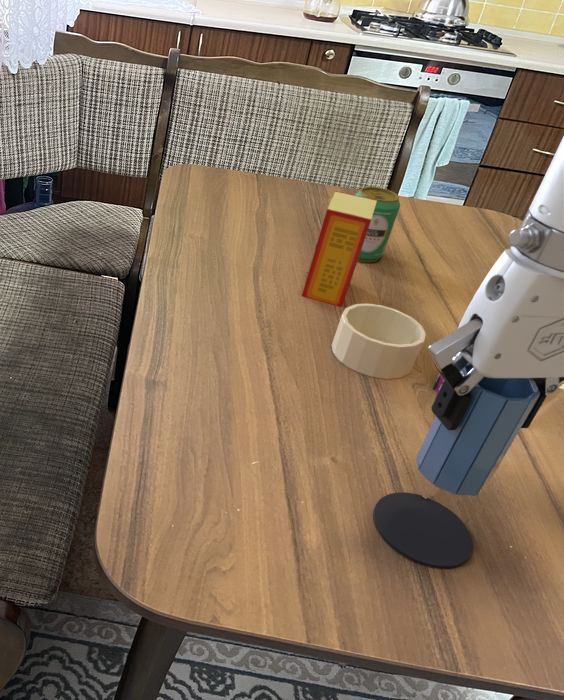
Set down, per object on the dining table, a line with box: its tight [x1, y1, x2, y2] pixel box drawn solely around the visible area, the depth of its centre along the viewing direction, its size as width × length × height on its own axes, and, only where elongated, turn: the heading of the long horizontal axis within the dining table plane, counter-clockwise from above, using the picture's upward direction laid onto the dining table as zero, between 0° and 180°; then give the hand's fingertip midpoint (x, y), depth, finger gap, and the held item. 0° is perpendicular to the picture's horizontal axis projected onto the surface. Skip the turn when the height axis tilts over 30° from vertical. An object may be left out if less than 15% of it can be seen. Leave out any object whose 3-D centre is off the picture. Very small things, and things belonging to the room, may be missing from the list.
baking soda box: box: [301, 190, 377, 308], centre depth 110 cm, size 10×6×16 cm
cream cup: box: [331, 302, 427, 380], centre depth 97 cm, size 11×11×6 cm
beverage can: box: [354, 186, 401, 264], centre depth 126 cm, size 8×8×12 cm
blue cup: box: [415, 363, 540, 497], centre depth 64 cm, size 6×7×12 cm
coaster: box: [372, 492, 474, 570], centre depth 72 cm, size 10×10×1 cm
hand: (478, 418), depth 63 cm, fingers closed on blue cup, 6 cm apart
